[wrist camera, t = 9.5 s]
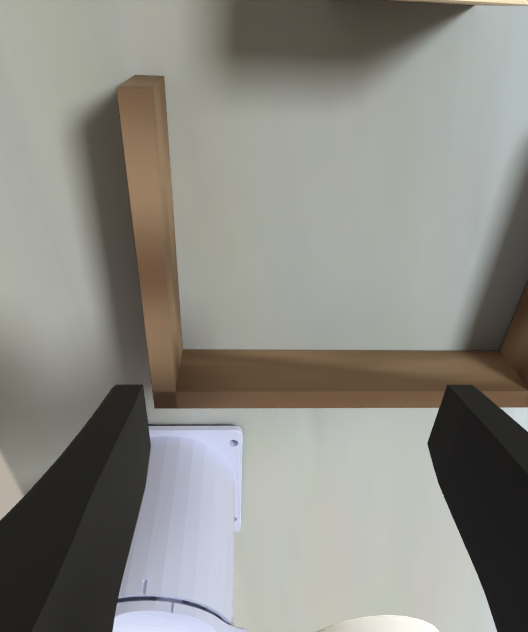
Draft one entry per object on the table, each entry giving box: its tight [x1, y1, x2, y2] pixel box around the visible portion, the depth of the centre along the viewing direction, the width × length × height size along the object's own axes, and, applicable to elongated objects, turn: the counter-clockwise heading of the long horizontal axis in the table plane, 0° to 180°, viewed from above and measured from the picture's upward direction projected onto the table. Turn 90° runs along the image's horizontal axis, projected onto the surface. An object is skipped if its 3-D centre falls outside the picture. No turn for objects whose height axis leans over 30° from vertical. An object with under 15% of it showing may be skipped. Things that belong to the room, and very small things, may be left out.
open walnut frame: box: [117, 75, 528, 408], centre depth 19 cm, size 13×18×3 cm
